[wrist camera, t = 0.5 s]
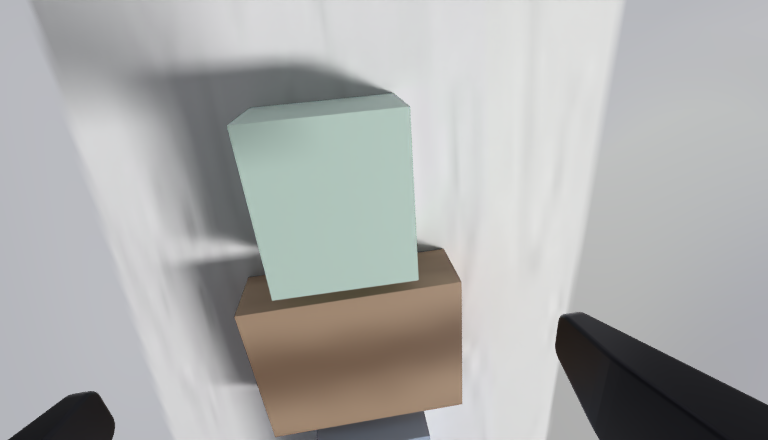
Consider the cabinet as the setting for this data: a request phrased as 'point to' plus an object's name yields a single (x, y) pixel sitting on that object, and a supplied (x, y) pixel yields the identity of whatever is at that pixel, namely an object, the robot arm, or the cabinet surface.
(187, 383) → the cabinet surface
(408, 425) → the slate block
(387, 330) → the walnut block
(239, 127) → the sage block
